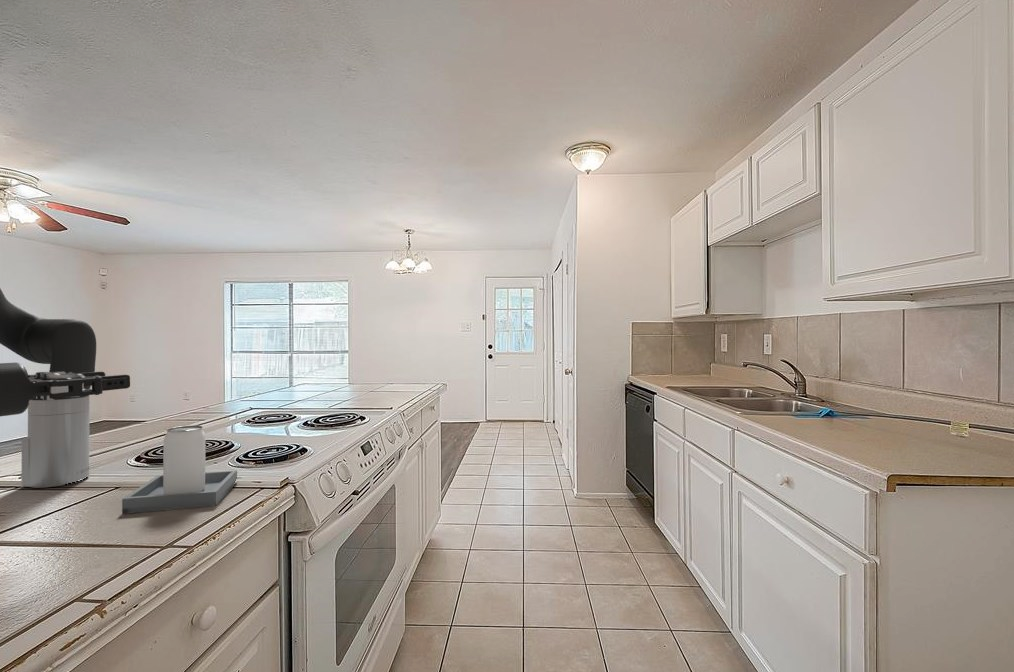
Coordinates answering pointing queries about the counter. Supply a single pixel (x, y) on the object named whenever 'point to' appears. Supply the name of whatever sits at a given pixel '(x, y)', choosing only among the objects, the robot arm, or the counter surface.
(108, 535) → the counter surface
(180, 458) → the can
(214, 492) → the bin
